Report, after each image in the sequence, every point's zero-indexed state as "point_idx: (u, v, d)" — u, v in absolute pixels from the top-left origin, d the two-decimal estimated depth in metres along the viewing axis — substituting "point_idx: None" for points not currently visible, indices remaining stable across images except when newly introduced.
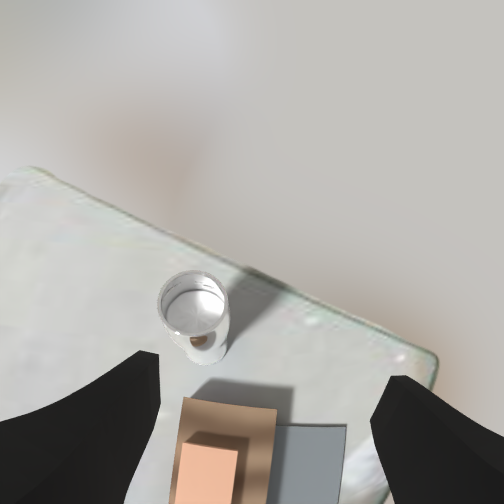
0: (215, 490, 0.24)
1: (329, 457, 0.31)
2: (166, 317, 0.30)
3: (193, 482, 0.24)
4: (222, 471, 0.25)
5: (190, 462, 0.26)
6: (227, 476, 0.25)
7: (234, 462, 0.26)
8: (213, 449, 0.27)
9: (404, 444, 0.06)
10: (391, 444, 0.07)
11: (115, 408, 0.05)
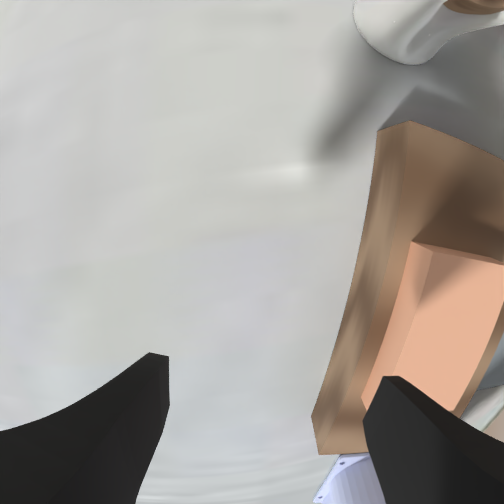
0: (460, 359, 0.12)
1: None
2: None
3: (430, 351, 0.12)
4: (483, 316, 0.11)
5: (438, 304, 0.11)
6: (486, 325, 0.11)
7: None
8: (483, 265, 0.11)
9: (395, 445, 0.06)
10: (383, 445, 0.07)
11: (128, 412, 0.05)
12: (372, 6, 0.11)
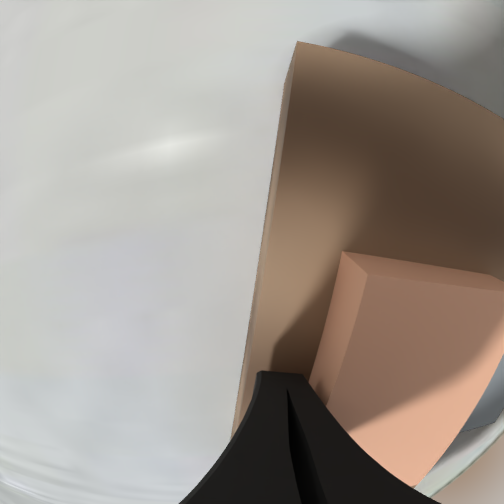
0: (426, 434, 0.07)
1: None
2: None
3: (371, 430, 0.07)
4: (471, 374, 0.07)
5: (383, 365, 0.06)
6: (475, 386, 0.07)
7: None
8: (475, 294, 0.06)
9: None
10: None
11: None
12: None
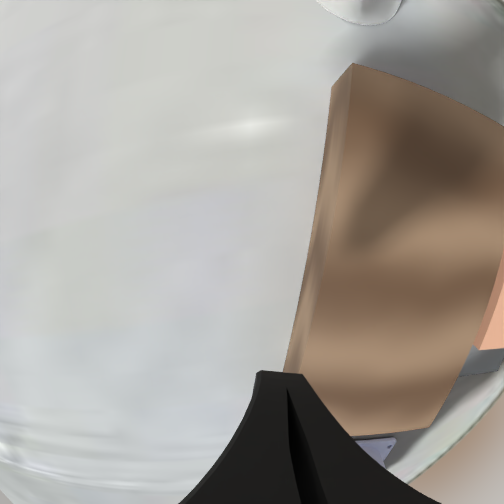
0: None
1: None
2: None
3: None
4: None
5: None
6: None
7: None
8: None
9: None
10: None
11: None
12: None
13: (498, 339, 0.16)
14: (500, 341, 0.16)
